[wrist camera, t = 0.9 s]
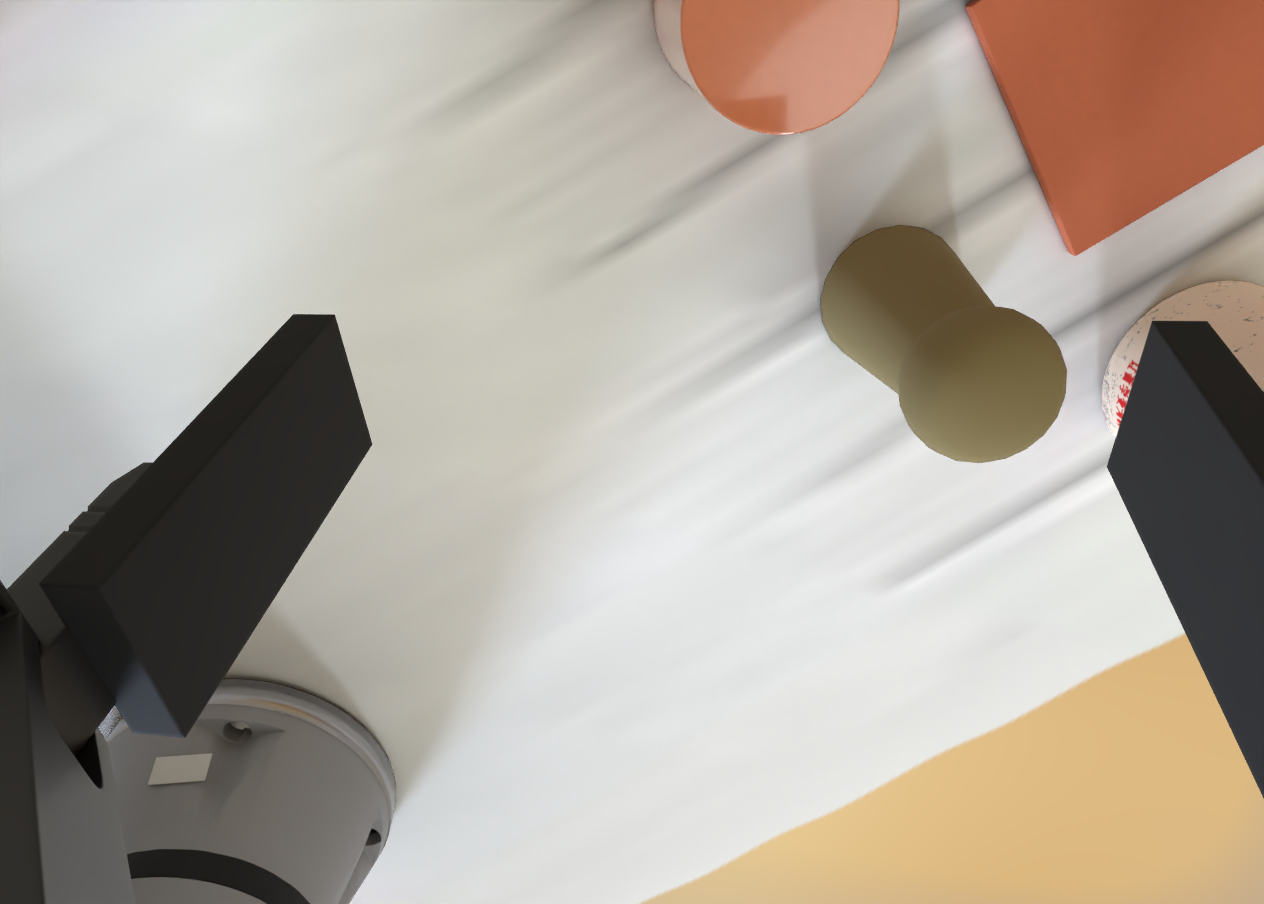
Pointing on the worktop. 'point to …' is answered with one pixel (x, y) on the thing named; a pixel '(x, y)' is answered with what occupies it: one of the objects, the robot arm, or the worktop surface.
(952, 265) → the olive rounded bottle shape
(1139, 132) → the terracotta mat
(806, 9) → the copper-orange cylinder
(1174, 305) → the teacup with lid
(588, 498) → the worktop surface
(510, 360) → the worktop surface
